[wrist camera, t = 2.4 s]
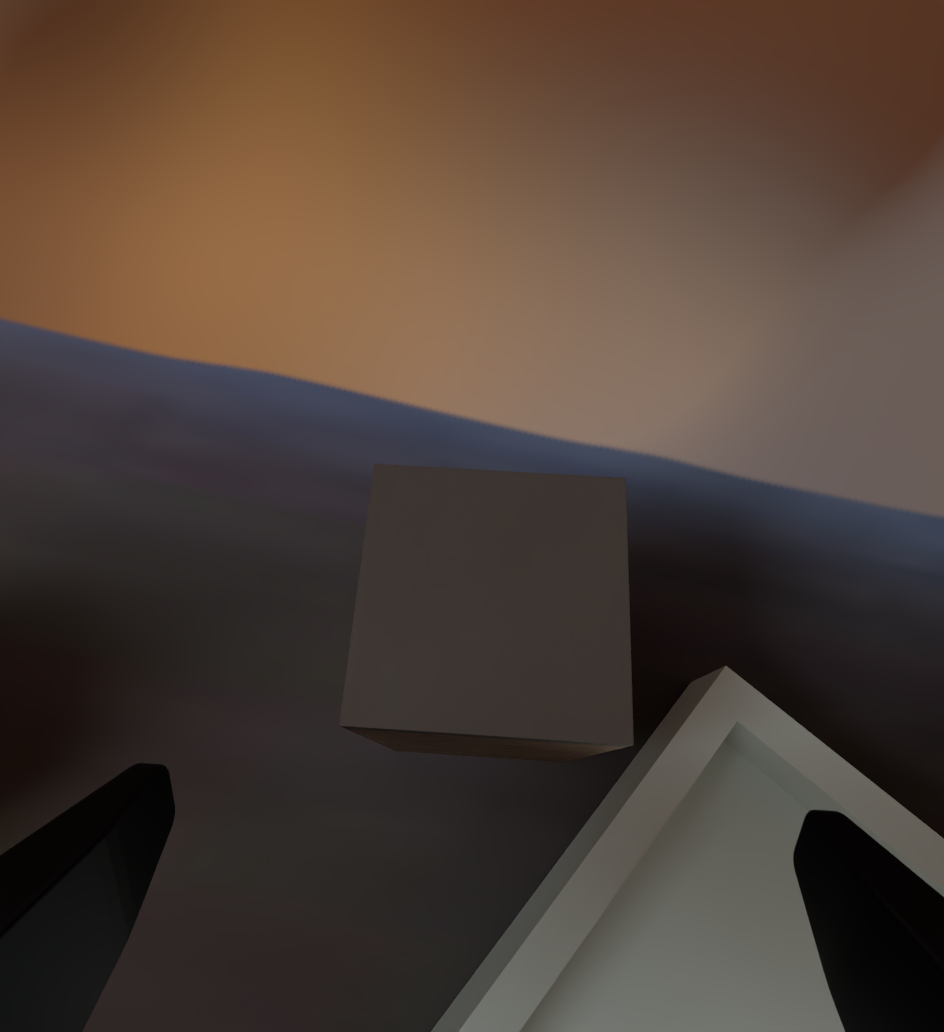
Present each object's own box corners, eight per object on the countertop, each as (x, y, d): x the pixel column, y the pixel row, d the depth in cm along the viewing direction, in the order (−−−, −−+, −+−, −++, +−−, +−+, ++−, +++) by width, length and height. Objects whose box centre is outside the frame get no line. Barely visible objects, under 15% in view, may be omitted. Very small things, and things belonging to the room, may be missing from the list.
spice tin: (563, 762, 19) (633, 745, 11) (395, 750, 19) (339, 725, 11) (564, 598, 21) (626, 478, 13) (411, 589, 21) (374, 463, 13)
